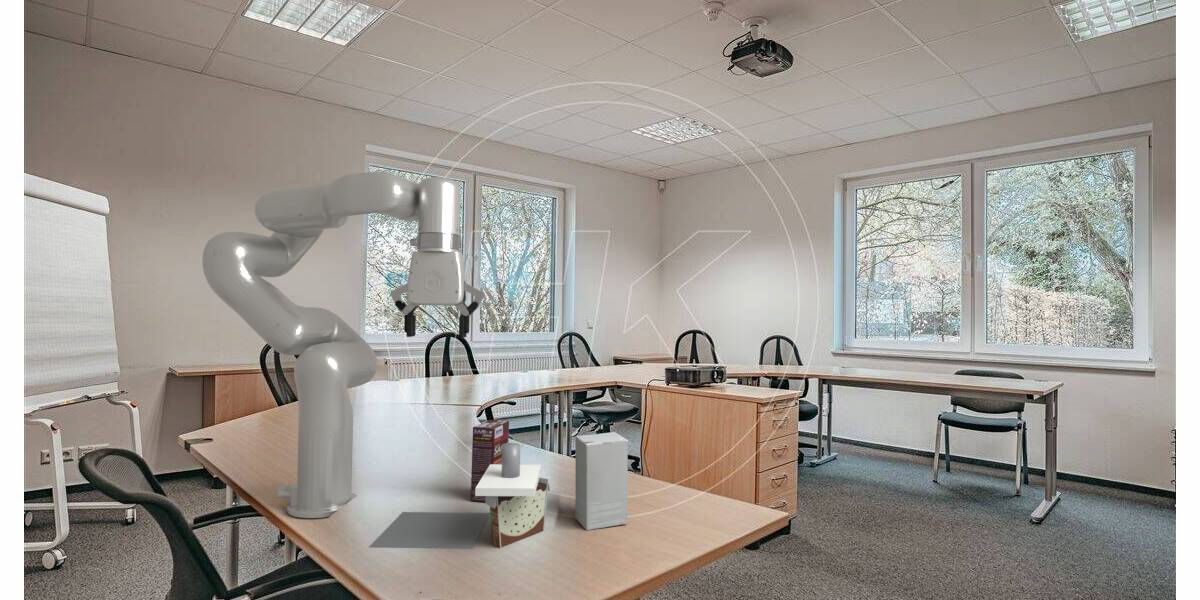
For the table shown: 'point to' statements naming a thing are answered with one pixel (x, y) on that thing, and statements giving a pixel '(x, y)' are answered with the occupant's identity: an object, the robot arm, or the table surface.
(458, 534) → the mat
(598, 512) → the skincare box
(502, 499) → the food container
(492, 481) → the lid
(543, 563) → the table surface
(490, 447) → the supplement box
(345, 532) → the table surface
